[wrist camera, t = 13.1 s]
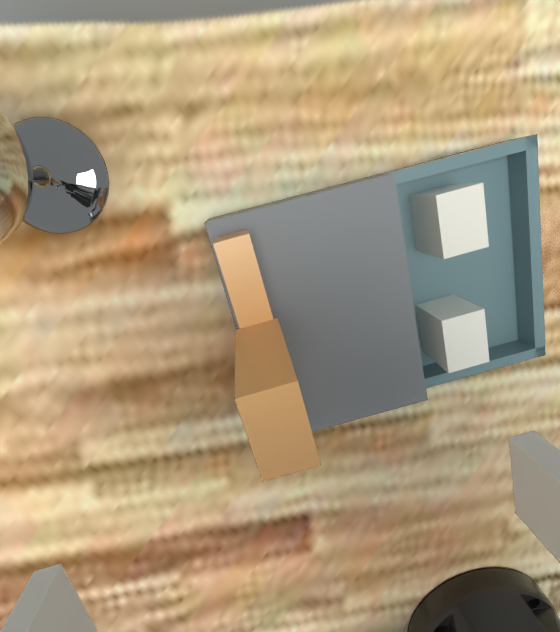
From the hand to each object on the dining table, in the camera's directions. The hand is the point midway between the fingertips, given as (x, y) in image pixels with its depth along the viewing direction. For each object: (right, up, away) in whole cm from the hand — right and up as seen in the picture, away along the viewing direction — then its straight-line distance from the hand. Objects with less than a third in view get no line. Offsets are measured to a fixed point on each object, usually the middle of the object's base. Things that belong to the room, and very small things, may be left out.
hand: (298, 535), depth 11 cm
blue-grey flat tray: (+13, +10, +19) cm, 25 cm away
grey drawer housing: (+2, +7, +19) cm, 20 cm away
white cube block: (+11, +5, +18) cm, 21 cm away
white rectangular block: (+9, +12, +15) cm, 22 cm away
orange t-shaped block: (-2, +5, +15) cm, 16 cm away
